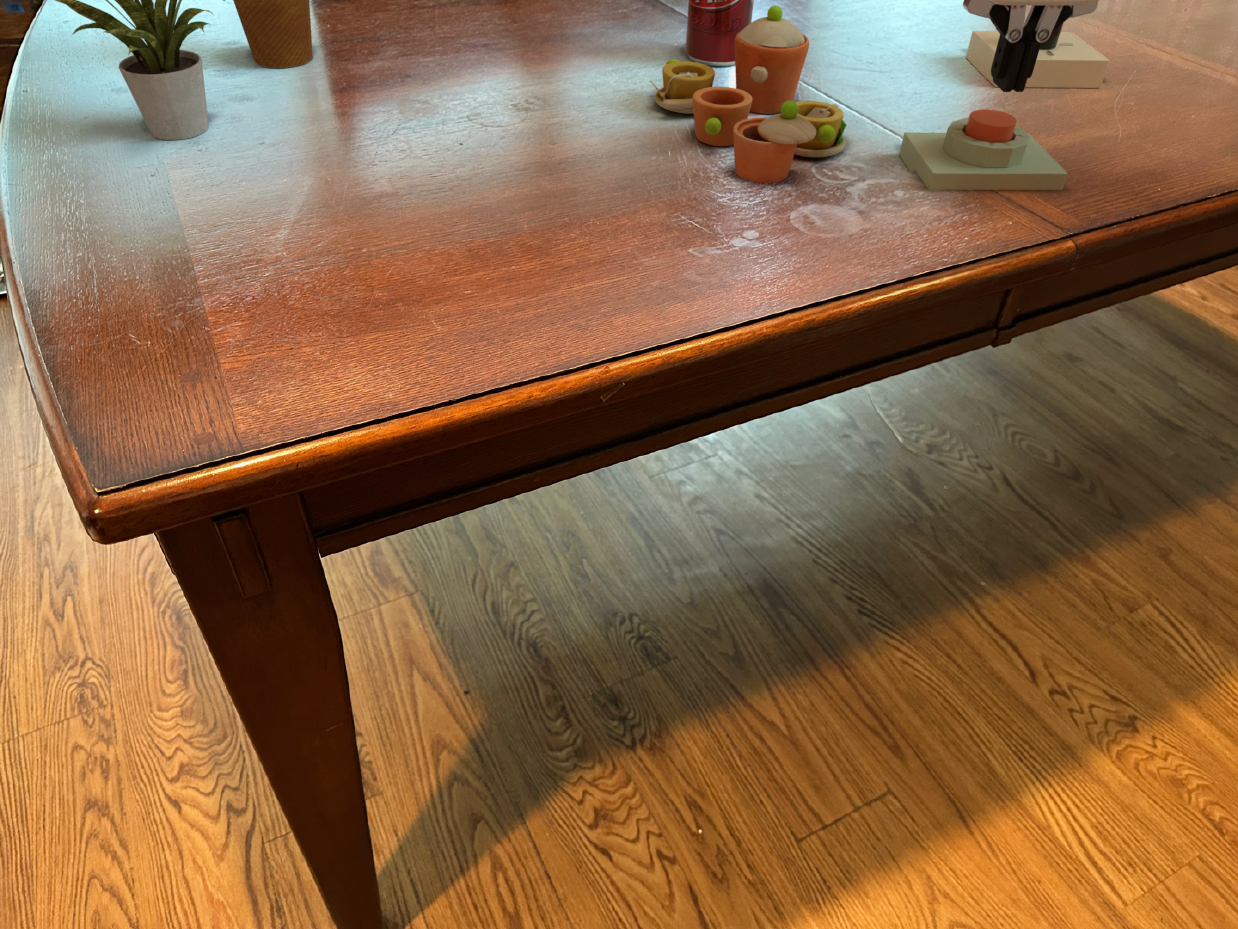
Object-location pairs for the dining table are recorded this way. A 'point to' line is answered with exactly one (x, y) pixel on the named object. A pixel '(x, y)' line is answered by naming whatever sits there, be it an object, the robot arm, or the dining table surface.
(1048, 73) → the beige slotted block
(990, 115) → the button
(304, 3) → the disposable coffee cup
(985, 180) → the button housing
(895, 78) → the dining table surface
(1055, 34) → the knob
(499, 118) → the dining table surface
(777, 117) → the toy tea set
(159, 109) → the house plant
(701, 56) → the soda can
